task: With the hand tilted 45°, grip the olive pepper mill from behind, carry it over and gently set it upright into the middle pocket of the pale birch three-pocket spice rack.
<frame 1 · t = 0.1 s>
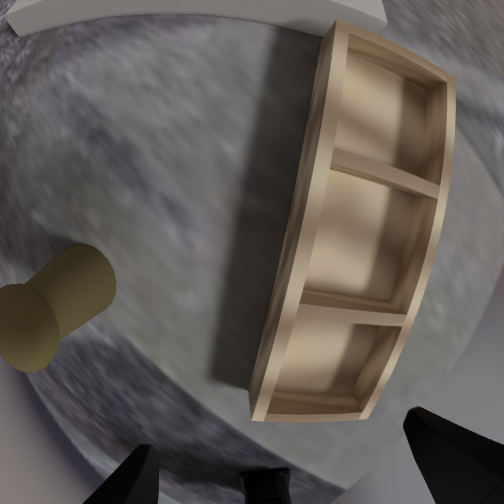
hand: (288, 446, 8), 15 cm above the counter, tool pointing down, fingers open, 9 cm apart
spice rack: (353, 237, 21), on the counter
olive pepper mill: (86, 278, 21), on the counter
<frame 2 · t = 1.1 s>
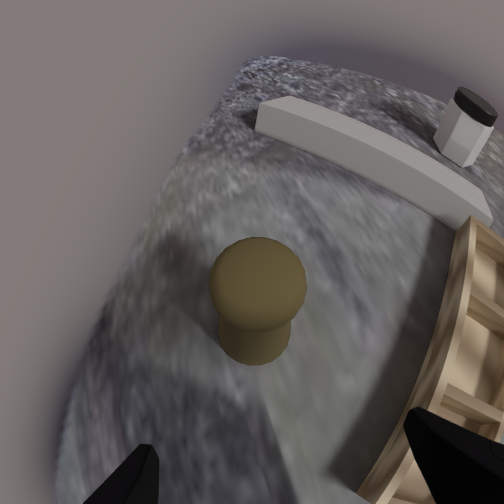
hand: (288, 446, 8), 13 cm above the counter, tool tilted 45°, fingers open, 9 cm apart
decorative molding: (377, 164, 36), on the counter
spice rack: (465, 364, 21), on the counter
jar: (452, 152, 39), on the counter
olive pepper mill: (254, 331, 23), on the counter
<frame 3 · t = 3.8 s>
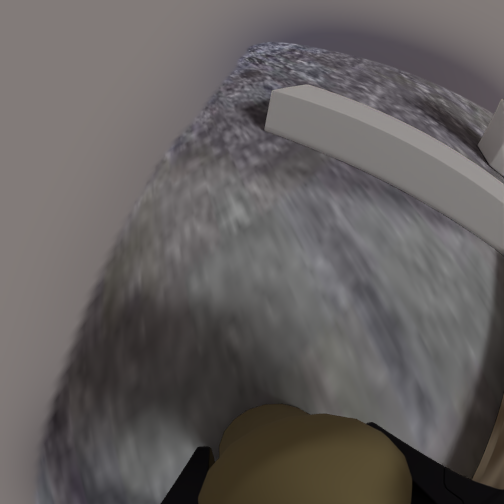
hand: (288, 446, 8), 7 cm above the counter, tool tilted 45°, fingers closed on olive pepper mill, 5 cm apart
decorative molding: (426, 178, 25), on the counter
jar: (498, 163, 28), on the counter
olive pepper mill: (273, 452, 13), on the counter, touching gripper
when the fingers open (8 cm above the counter, at t = 8.7 s): olive pepper mill stays where it is, resting on spice rack.
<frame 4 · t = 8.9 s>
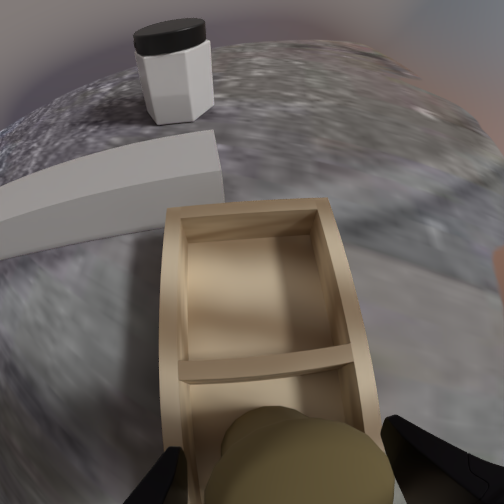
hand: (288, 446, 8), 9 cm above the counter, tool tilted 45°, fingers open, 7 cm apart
decorative molding: (63, 211, 25), on the counter
spice rack: (271, 448, 14), on the counter
jar: (180, 109, 33), on the counter
olive pepper mill: (272, 451, 13), point 1 cm above the counter, touching spice rack
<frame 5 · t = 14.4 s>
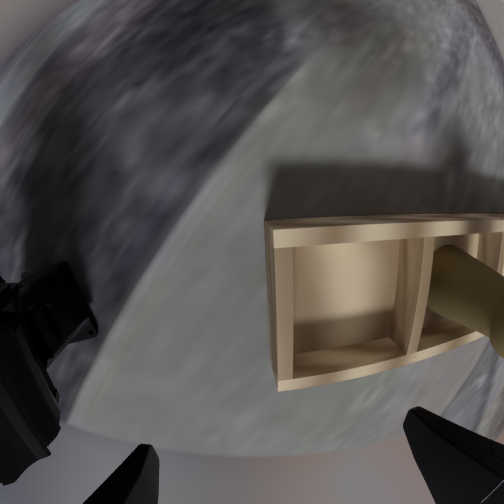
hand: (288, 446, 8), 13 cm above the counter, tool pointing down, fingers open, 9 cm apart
spice rack: (438, 275, 21), on the counter
olive pepper mill: (442, 277, 20), point 1 cm above the counter, touching spice rack
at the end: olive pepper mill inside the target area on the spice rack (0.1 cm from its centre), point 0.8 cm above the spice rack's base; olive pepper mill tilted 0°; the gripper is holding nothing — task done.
